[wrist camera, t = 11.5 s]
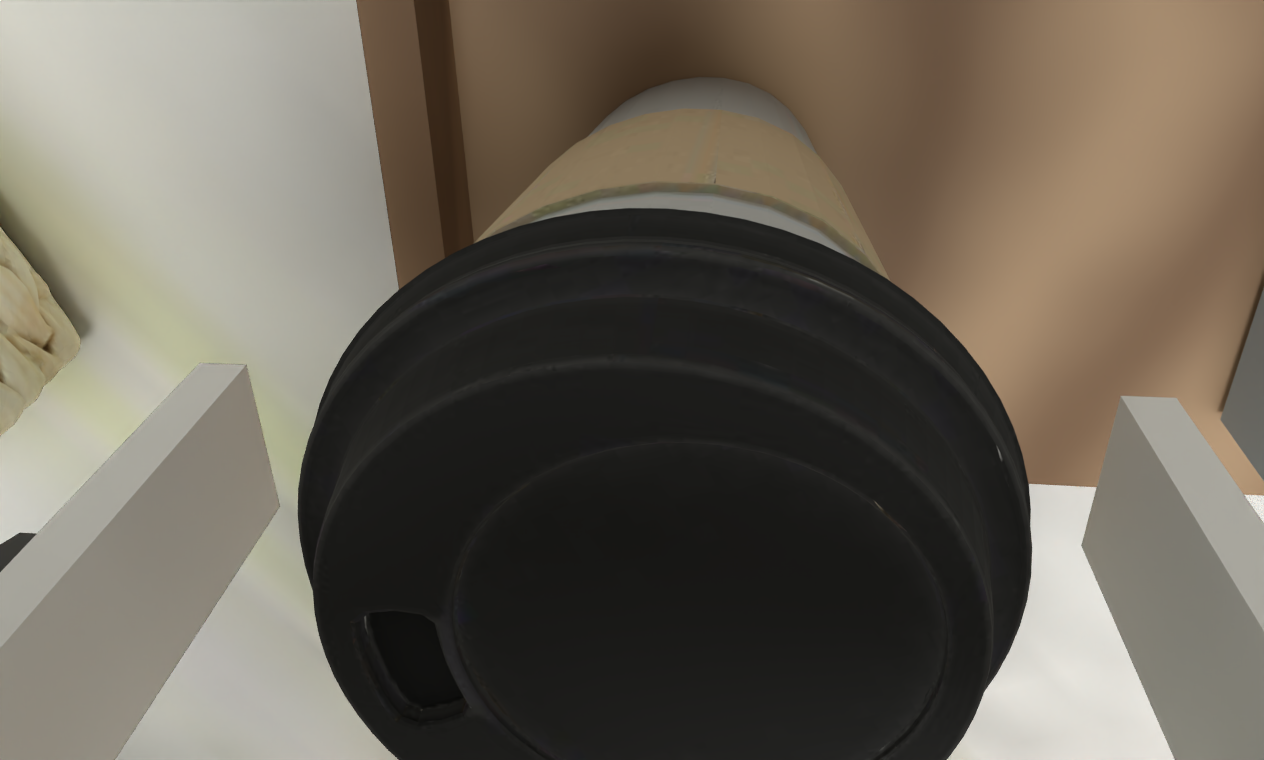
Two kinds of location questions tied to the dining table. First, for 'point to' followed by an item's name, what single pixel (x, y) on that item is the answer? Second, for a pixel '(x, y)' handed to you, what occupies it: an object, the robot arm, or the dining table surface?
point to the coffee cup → (666, 472)
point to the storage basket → (28, 334)
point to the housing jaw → (1249, 395)
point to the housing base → (909, 166)
